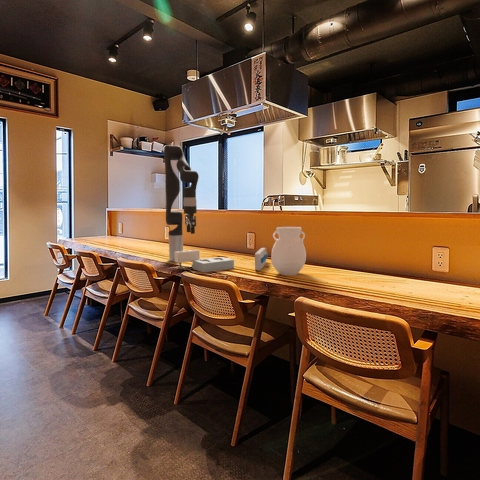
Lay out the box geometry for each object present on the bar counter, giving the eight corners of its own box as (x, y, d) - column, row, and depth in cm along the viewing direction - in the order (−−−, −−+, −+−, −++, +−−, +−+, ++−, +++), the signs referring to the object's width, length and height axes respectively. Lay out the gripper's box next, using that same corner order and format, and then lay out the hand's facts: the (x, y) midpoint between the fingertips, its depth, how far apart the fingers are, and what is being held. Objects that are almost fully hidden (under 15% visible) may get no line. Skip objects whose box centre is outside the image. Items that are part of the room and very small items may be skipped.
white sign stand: (174, 268, 205) (174, 251, 203) (196, 265, 212) (195, 249, 211) (178, 269, 200) (177, 252, 199) (199, 266, 208) (199, 250, 207)
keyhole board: (192, 268, 203) (192, 260, 202) (221, 264, 214) (221, 256, 213) (203, 272, 191) (203, 263, 191) (233, 268, 202) (233, 259, 202)
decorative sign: (261, 271, 193) (261, 253, 191) (254, 271, 193) (254, 253, 192) (268, 261, 224) (268, 246, 223) (263, 261, 225) (263, 246, 224)
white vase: (308, 271, 191) (308, 226, 188) (303, 278, 173) (303, 228, 171) (275, 269, 197) (275, 225, 194) (267, 276, 180) (267, 228, 177)
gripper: (180, 205, 206) (181, 232, 208) (187, 205, 193) (187, 234, 195) (192, 204, 209) (193, 231, 211) (199, 205, 196) (200, 233, 198)
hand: (190, 232), depth 203 cm, fingers open, 8 cm apart
